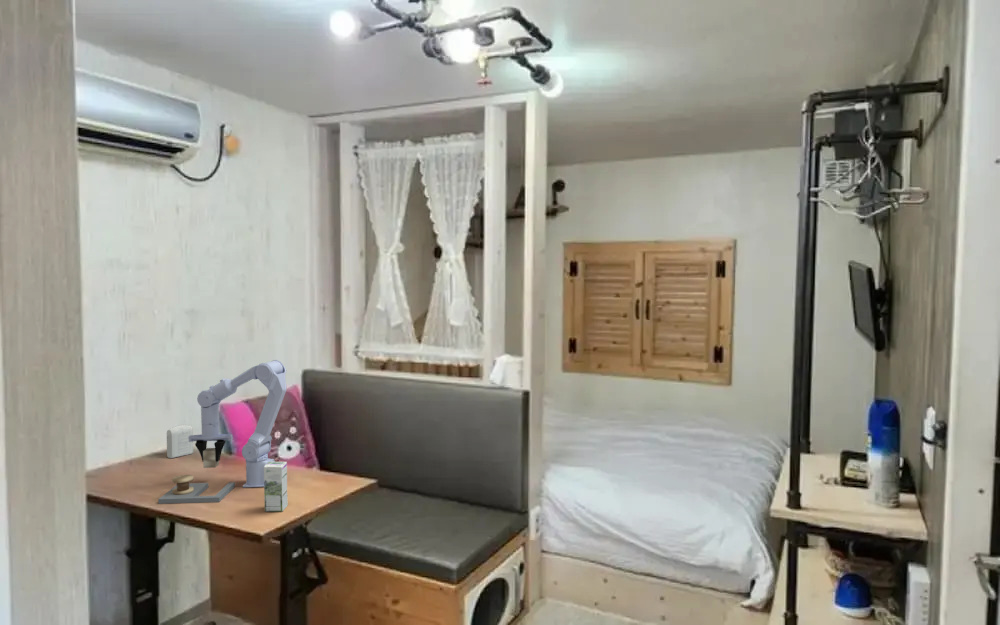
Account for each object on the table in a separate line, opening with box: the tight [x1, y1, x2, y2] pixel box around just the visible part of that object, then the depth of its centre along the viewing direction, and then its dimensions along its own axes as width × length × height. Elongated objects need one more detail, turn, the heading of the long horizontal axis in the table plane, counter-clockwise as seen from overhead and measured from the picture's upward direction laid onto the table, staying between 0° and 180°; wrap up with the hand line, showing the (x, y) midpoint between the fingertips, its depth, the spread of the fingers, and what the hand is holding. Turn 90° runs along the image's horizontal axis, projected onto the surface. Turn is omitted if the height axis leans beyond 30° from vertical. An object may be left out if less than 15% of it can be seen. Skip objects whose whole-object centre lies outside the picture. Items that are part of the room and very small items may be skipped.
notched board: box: [157, 481, 236, 505], centre depth 217 cm, size 19×16×2 cm
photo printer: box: [166, 424, 194, 459], centre depth 266 cm, size 10×4×12 cm, turn 147°
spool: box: [171, 474, 194, 495], centre depth 216 cm, size 6×6×5 cm
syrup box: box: [263, 461, 289, 513], centre depth 204 cm, size 6×6×14 cm
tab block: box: [202, 447, 220, 469], centre depth 231 cm, size 4×4×6 cm
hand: (211, 460), depth 231 cm, fingers closed on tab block, 4 cm apart
